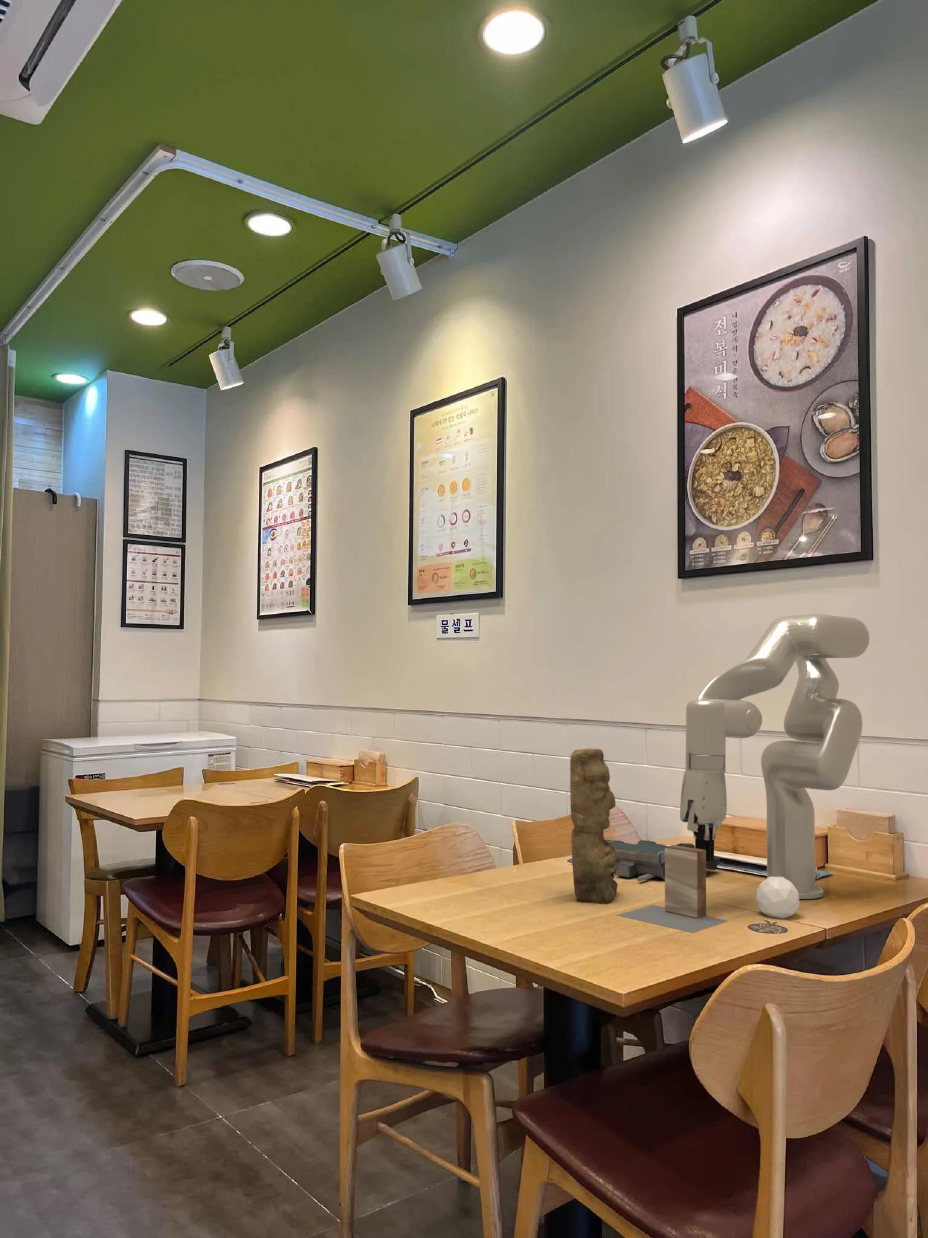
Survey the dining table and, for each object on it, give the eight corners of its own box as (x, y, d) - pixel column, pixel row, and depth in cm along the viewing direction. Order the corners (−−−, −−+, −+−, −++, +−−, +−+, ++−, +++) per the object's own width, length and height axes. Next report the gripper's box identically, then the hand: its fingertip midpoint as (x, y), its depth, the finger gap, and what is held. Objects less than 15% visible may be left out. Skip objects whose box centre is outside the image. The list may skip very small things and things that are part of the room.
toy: (731, 849, 220) (684, 849, 196) (728, 886, 218) (680, 890, 194) (626, 833, 236) (570, 831, 212) (622, 867, 234) (566, 869, 210)
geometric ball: (789, 933, 172) (816, 902, 170) (762, 923, 168) (789, 890, 166) (766, 904, 178) (792, 874, 176) (739, 894, 174) (765, 862, 173)
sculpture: (616, 908, 178) (616, 751, 180) (568, 905, 180) (569, 750, 182) (618, 894, 190) (618, 747, 192) (573, 891, 192) (574, 746, 194)
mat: (653, 908, 178) (653, 904, 178) (728, 924, 167) (728, 920, 167) (616, 918, 170) (616, 915, 170) (692, 936, 159) (692, 932, 159)
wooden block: (673, 909, 175) (673, 845, 176) (706, 916, 170) (705, 850, 171) (664, 911, 173) (664, 846, 174) (697, 919, 168) (697, 852, 169)
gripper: (708, 761, 187) (707, 853, 185) (667, 763, 176) (666, 861, 175) (742, 764, 181) (741, 859, 180) (702, 766, 171) (701, 867, 169)
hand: (704, 860), depth 177 cm, fingers closed
